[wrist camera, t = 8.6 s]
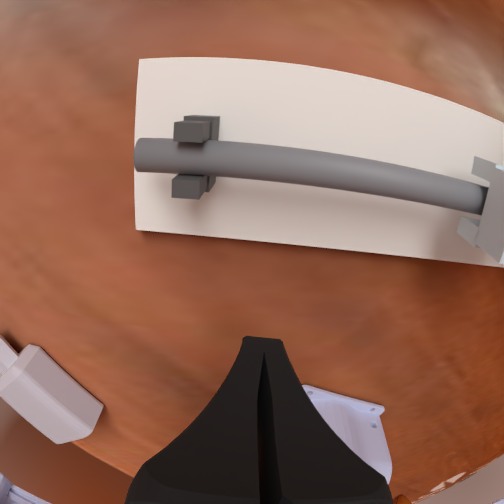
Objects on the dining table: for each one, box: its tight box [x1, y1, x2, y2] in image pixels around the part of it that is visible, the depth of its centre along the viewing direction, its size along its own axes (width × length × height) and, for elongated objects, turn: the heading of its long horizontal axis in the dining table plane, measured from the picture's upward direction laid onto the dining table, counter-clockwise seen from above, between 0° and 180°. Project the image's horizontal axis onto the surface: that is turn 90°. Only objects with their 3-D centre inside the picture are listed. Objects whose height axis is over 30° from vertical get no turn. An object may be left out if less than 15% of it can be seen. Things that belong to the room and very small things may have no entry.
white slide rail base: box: [134, 57, 504, 268], centre depth 15 cm, size 29×10×6 cm, turn 85°
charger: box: [0, 334, 104, 444], centre depth 25 cm, size 5×9×15 cm
